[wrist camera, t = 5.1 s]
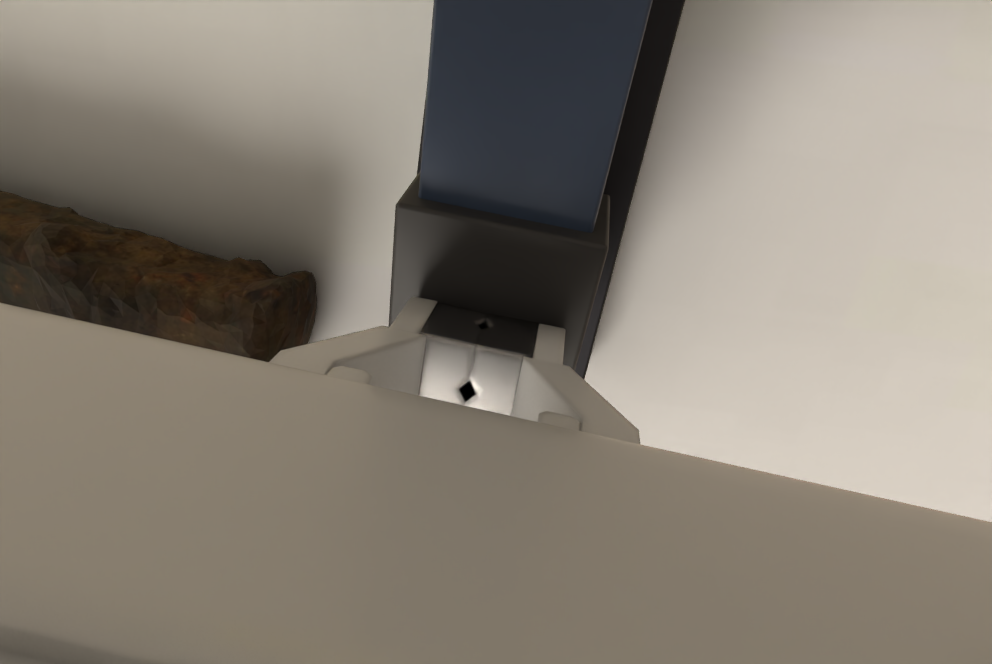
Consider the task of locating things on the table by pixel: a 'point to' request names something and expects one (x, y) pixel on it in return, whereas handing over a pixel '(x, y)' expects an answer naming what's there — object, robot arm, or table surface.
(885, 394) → the table surface
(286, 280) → the hand tool
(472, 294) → the stapler arm
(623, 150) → the stapler
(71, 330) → the robot arm
